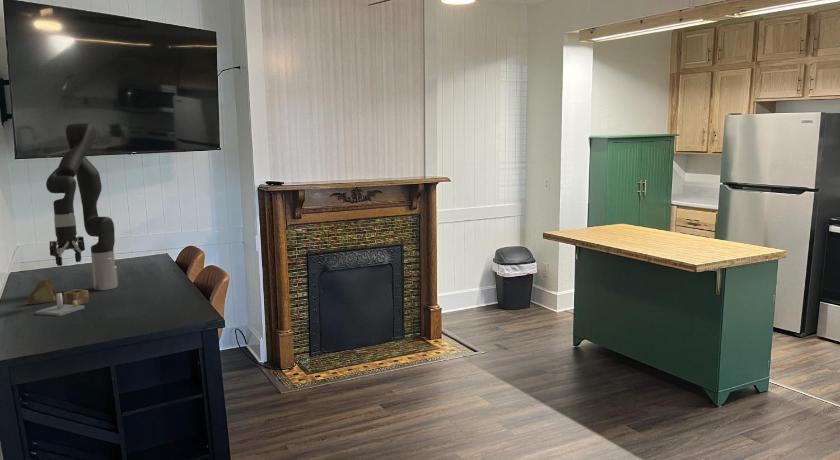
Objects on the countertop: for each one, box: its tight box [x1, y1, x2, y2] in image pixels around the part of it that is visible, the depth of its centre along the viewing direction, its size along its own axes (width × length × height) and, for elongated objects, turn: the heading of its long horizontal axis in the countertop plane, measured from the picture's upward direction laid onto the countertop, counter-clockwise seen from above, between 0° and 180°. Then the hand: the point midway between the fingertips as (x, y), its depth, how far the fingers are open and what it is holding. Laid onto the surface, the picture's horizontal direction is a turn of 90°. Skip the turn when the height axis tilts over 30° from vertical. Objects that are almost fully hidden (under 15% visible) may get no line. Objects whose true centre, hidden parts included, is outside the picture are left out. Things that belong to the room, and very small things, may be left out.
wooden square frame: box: [63, 288, 90, 305], centre depth 261 cm, size 6×6×5 cm
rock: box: [27, 279, 58, 305], centre depth 264 cm, size 11×9×10 cm
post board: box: [35, 292, 85, 317], centre depth 248 cm, size 12×12×7 cm
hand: (69, 263), depth 258 cm, fingers open, 8 cm apart
